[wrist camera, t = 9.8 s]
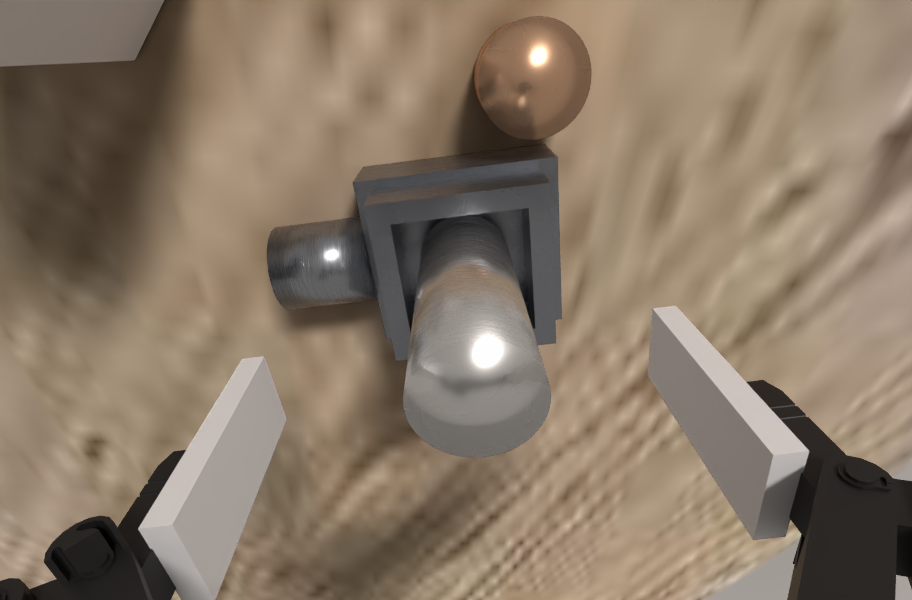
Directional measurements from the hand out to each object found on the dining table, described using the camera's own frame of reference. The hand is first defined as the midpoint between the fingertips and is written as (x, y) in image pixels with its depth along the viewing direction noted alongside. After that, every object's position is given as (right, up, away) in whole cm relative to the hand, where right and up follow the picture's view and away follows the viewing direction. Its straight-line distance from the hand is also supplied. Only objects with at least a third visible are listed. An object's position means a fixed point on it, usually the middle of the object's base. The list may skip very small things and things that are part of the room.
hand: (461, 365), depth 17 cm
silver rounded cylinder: (0, +4, +9) cm, 10 cm away
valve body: (-2, +5, +13) cm, 14 cm away
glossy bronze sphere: (+3, +14, +9) cm, 16 cm away
